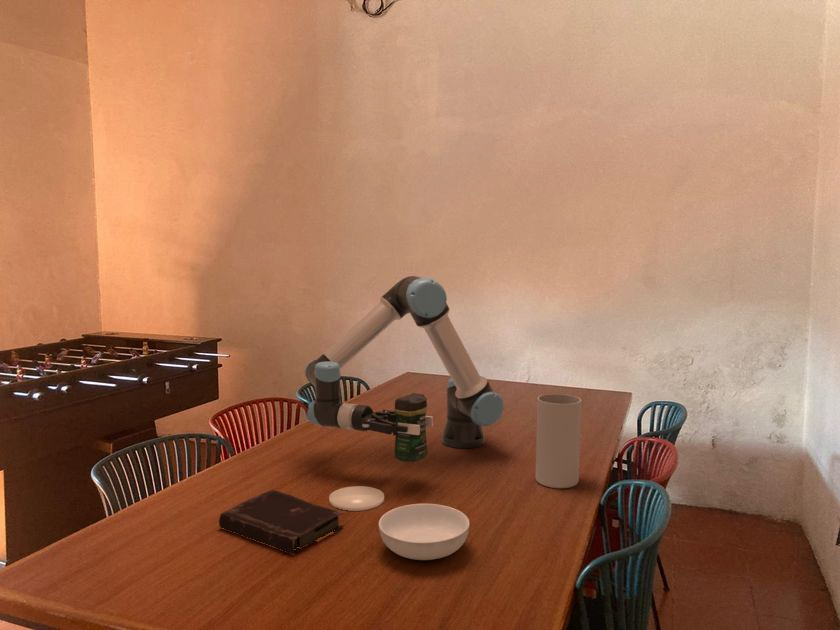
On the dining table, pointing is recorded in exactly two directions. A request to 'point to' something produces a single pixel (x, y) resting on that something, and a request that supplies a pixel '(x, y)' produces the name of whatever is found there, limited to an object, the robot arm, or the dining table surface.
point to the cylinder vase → (558, 440)
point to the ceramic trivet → (356, 498)
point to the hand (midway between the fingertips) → (425, 425)
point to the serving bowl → (424, 530)
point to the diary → (280, 520)
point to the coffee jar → (411, 412)
